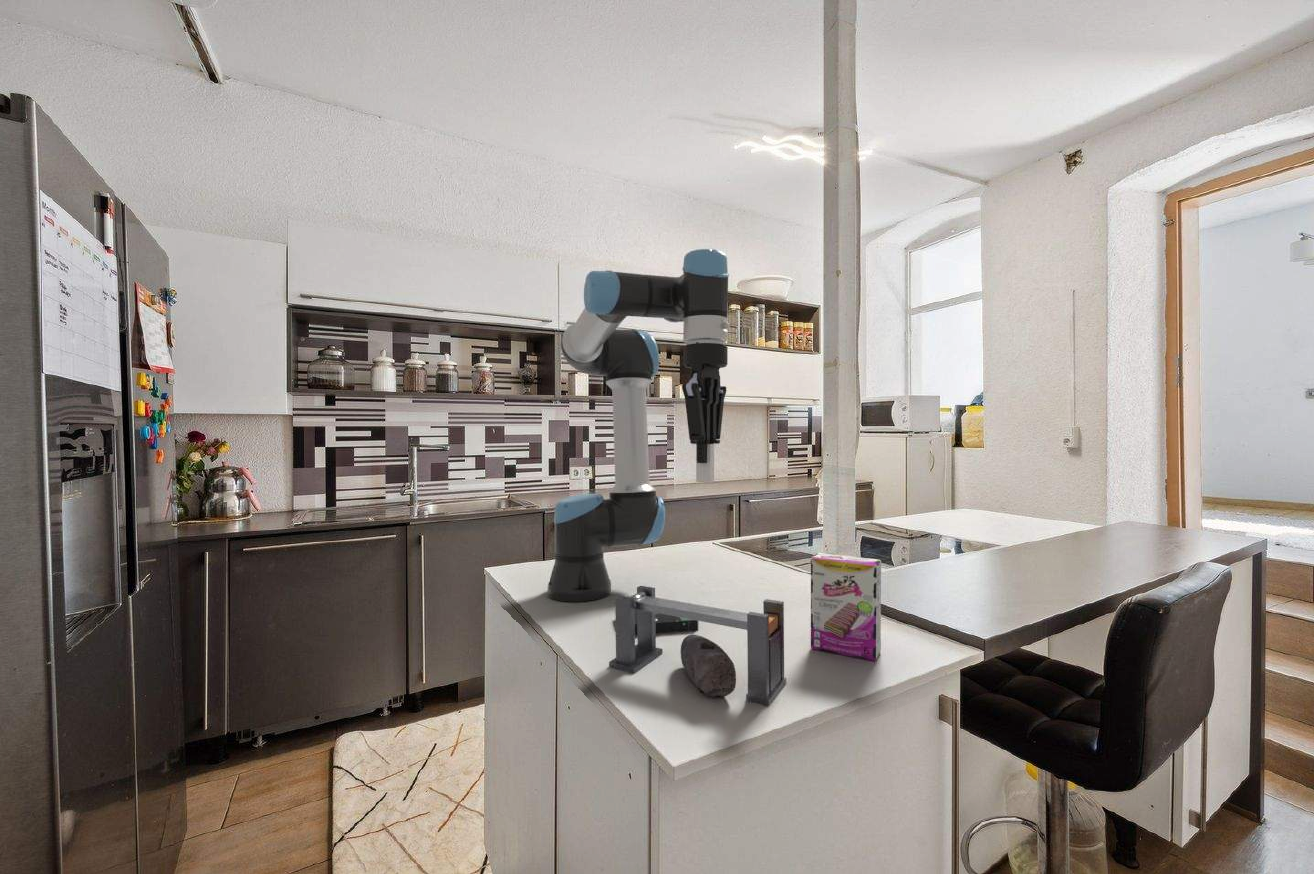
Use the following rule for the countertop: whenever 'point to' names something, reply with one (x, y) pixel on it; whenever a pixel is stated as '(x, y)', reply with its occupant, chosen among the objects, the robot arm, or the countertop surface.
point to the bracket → (626, 650)
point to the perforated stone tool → (708, 666)
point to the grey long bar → (697, 612)
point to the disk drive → (671, 624)
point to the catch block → (765, 654)
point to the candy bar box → (846, 605)
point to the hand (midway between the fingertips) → (705, 481)
